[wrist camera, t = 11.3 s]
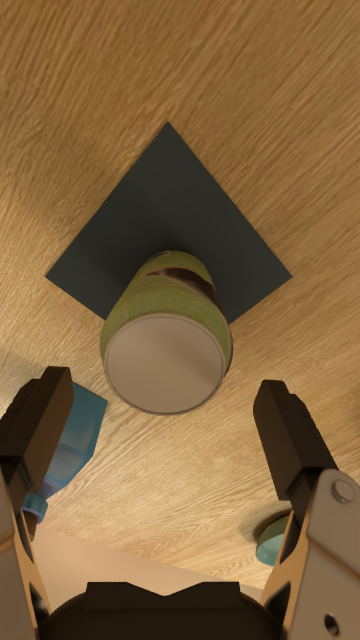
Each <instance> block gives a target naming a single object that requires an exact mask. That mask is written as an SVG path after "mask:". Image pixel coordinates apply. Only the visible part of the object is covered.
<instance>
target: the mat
mask: <svg viewBox="0 0 360 640" xmlns="http://www.w3.org/2000/svg"><path fill="white" fill-rule="evenodd" d="M170 250H175V251H182V252H186V253H188V254H191V255H193V256H194V257H196V258H197V259H198V260H200V261H201V262H202V263H203V264H204V266H205V267H206V269H207V270H208V272H209V274H210V277H211V279H212V282H213V285H214V287H215V290H216V293H217V295H218V298H219V301H220V303H221V306H222V309H223V311H224V314H225V317H226V319H227V322H228V325H229V324H231V323H232V322H233V321H235V320H236V319H237V318H239V317H240V316H241V315H242V314H244V313H245V312H246V311H248V310H249V309H250V308H252V307H253V306H254V305H256V304H257V303H258V302H260V301H261V300H262V299H264V298H265V297H266V296H268V295H269V294H270V293H272V292H273V291H274V290H276V289H277V288H278V287H280V286H281V285H282V284H284V283H285V282H286V281H288V280H289V279H290V278H292V276H291V274H290V273H289V272H288V271H287V269H286V268H285V267H284V266H283V264H282V263H281V262H280V261H279V259H278V258H277V257H276V256H275V254H274V253H273V252H272V251H271V249H270V248H269V247H268V246H267V244H266V243H265V242H264V241H263V239H262V238H261V237H260V236H259V234H258V233H257V232H256V231H255V229H254V228H253V227H252V226H251V224H250V223H249V222H248V221H247V219H246V218H245V217H244V216H243V214H242V213H241V212H240V211H239V209H238V208H237V207H236V206H235V204H234V203H233V202H232V201H231V199H230V198H229V197H228V196H227V194H226V193H225V192H224V191H223V189H222V188H221V187H220V186H219V184H218V183H217V182H216V181H215V179H214V178H213V177H212V176H211V174H210V173H209V172H208V171H207V169H206V168H205V167H204V166H203V164H202V163H201V162H200V161H199V159H198V158H197V157H196V156H195V154H194V153H193V152H192V151H191V149H190V148H189V147H188V146H187V144H186V143H185V142H184V141H183V139H182V138H181V137H180V136H179V134H178V133H177V132H176V131H175V129H174V128H173V127H172V126H171V124H170V123H169V122H167V124H166V125H165V126H164V127H163V129H162V130H161V131H160V132H159V134H158V135H157V136H156V137H155V139H154V140H153V141H152V142H151V144H150V145H149V146H148V147H147V149H146V150H145V151H144V152H143V154H142V155H141V156H140V157H139V159H138V160H137V161H136V163H135V164H134V165H133V166H132V168H131V169H130V170H129V171H128V173H127V174H126V175H125V176H124V178H123V179H122V180H121V181H120V183H119V184H118V185H117V186H116V188H115V189H114V190H113V191H112V193H111V194H110V195H109V197H108V198H107V199H106V200H105V202H104V203H103V204H102V205H101V207H100V208H99V209H98V210H97V212H96V213H95V214H94V215H93V217H92V218H91V219H90V220H89V222H88V223H87V224H86V225H85V227H84V228H83V229H82V230H81V232H80V233H79V234H78V236H77V237H76V238H75V239H74V241H73V242H72V243H71V244H70V246H69V247H68V248H67V249H66V251H65V252H64V253H63V254H62V256H61V257H60V258H59V259H58V261H57V262H56V263H55V264H54V266H53V267H52V268H51V270H50V271H49V272H48V273H47V275H46V276H45V277H46V278H47V279H48V280H50V281H51V282H53V283H54V284H55V285H57V286H58V287H59V288H61V289H62V290H64V291H65V292H66V293H68V294H69V295H71V296H72V297H73V298H75V299H76V300H77V301H79V302H80V303H82V304H83V305H84V306H86V307H87V308H89V309H90V310H91V311H93V312H94V313H95V314H97V315H98V316H100V317H101V318H102V319H104V320H105V321H106V319H107V318H108V316H109V314H110V312H111V311H112V309H113V308H114V306H115V305H116V303H117V302H118V300H119V299H120V297H121V296H122V294H123V293H124V291H125V290H126V288H127V287H128V285H129V284H130V282H131V281H132V279H133V278H134V276H135V275H136V273H137V272H138V270H139V269H140V267H141V266H142V265H143V264H144V262H145V261H146V260H148V259H149V258H150V257H152V256H153V255H155V254H157V253H160V252H163V251H170Z"/></svg>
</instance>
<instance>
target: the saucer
mask: <svg viewBox="0 0 360 640" xmlns="http://www.w3.org/2000/svg"><path fill="white" fill-rule="evenodd" d="M289 517H290V515H288V516H285V517H283V518H281V519H279V520H277V521H275V522H274V523H272V524H271V525H269V526H268V527H267V528H266V530H265V531H264V532H263V533H262V535H261V537H260V539H259V541H258V543H257V547H256V557H257V559H258V560H259V561H261V562H262V563H264V564H267V565H270V566H273V567H274V565H275V562H276V559H277V556H278V553H279V549H280V546H281V543H282V540H283V536H284V533H285V530H286V526H287V523H288V520H289Z"/></svg>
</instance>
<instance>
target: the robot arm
mask: <svg viewBox="0 0 360 640" xmlns="http://www.w3.org/2000/svg"><path fill="white" fill-rule="evenodd" d="M73 401H74V389H73V384H72V378H71V372H70V368H69V367H57V366H48V367H47V368H46V369H45V371H44V373H43V375H42V376H41V378H40V379H31V380H30V381H29V382H28V383H26V384H25V385H24V386H23V387H22V388H20V390H19V391H18V393H17V394H16V396H15V398H14V399H13V402H12V403H11V404H10V405H9V407H8V409H7V410H6V413H4V415H3V416H2V418H1V420H0V640H360V486H359V485H358V484H357V483H356V482H355V481H354V480H353V479H352V478H351V477H350V476H348V475H347V474H345V473H343V472H341V471H340V470H339V469H338V467H337V465H336V463H335V461H334V459H333V458H332V456H331V454H330V452H329V450H328V448H327V446H326V444H325V442H324V440H323V438H322V436H321V434H320V432H319V430H318V429H317V428H316V425H315V423H314V421H313V419H312V418H311V415H310V413H309V411H308V409H307V407H306V405H305V404H304V403H303V402H302V401H301V400H300V399H299V398H298V397H297V396H296V394H290V393H289V391H288V389H287V387H286V385H285V383H284V382H283V381H282V380H263V381H262V383H261V386H260V388H259V391H258V393H257V396H256V398H255V401H254V404H253V415H254V419H255V423H256V426H257V429H258V433H259V436H260V439H261V443H262V446H263V449H264V452H265V456H266V459H267V462H268V466H269V469H270V472H271V476H272V479H273V482H274V486H275V489H276V492H277V496H278V499H279V501H290V502H291V505H292V508H293V510H292V511H291V513H290V517H289V520H288V523H287V526H286V530H285V533H284V536H283V540H282V543H281V546H280V549H279V553H278V556H277V559H276V562H275V565H274V568H273V570H272V572H271V574H270V576H269V578H268V580H267V582H266V585H265V587H264V590H263V593H262V597H261V599H260V603H258V602H257V601H256V600H254V599H253V598H251V597H250V596H247V595H246V594H244V593H242V592H240V586H239V582H201V583H199V584H196V585H194V586H191V587H188V588H186V589H183V590H181V591H178V592H176V593H173V594H171V595H167V596H162V595H159V594H156V593H153V592H151V591H148V590H146V589H143V588H141V587H138V586H135V585H133V584H130V583H128V582H88V583H87V588H86V592H84V593H82V594H79V595H77V596H75V597H73V598H72V599H70V600H68V601H67V602H65V603H64V604H62V605H61V606H60V607H59V608H57V609H56V610H55V611H54V612H53V613H51V609H50V606H49V602H48V598H47V594H46V591H45V587H44V584H43V581H42V578H41V576H40V573H39V571H38V567H37V564H36V561H35V557H34V553H33V549H32V545H31V541H30V538H29V534H28V530H27V526H26V522H25V519H24V515H23V511H22V505H23V503H24V500H25V498H26V496H27V494H39V491H40V489H41V486H42V484H43V481H44V478H45V476H46V473H47V471H48V468H49V466H50V463H51V460H52V458H53V455H54V453H55V450H56V448H57V445H58V442H59V440H60V437H61V435H62V432H63V430H64V427H65V424H66V422H67V419H68V417H69V414H70V412H71V409H72V406H73Z"/></svg>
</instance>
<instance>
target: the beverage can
mask: <svg viewBox="0 0 360 640" xmlns="http://www.w3.org/2000/svg"><path fill="white" fill-rule="evenodd" d="M100 355H101V359H102V363H103V366H104V371H105V375H106V378H107V381H108V383H109V385H110V387H111V389H112V390H113V391H114V393H115V394H116V395H117V396H118V397H119V398H120V399H121V400H122V401H123V402H124V403H126V404H127V405H129V406H130V407H132V408H134V409H136V410H138V411H141V412H144V413H147V414H151V415H157V416H176V415H181V414H186V413H189V412H191V411H194V410H196V409H198V408H200V407H201V406H203V405H205V404H206V403H207V402H208V401H210V400H211V399H212V398H213V396H214V395H215V394H216V393H217V391H218V390H219V388H220V386H221V384H222V381H223V379H224V377H225V376H226V374H227V372H228V370H229V367H230V364H231V362H232V356H233V338H232V334H231V331H230V327H229V325H228V322H227V319H226V317H225V314H224V311H223V309H222V306H221V303H220V301H219V298H218V295H217V293H216V290H215V287H214V285H213V282H212V279H211V277H210V274H209V272H208V270H207V269H206V267H205V266H204V264H203V263H202V262H201V261H200V260H198V259H197V258H196V257H194V256H193V255H191V254H188V253H186V252H182V251H175V250H170V251H163V252H160V253H157V254H155V255H153V256H152V257H150V258H149V259H148V260H146V261H145V262H144V264H143V265H142V266H141V267H140V269H139V270H138V272H137V273H136V275H135V276H134V278H133V279H132V281H131V282H130V284H129V285H128V287H127V288H126V290H125V291H124V293H123V294H122V296H121V297H120V299H119V300H118V302H117V303H116V305H115V306H114V308H113V309H112V311H111V312H110V314H109V316H108V318H107V319H106V321H105V323H104V326H103V329H102V332H101V336H100Z"/></svg>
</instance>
